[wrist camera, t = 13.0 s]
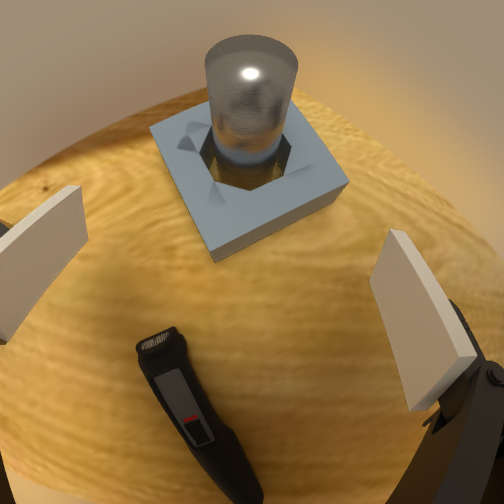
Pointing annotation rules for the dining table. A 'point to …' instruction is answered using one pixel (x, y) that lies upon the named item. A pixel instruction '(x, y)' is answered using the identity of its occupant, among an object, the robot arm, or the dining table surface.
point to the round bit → (248, 105)
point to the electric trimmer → (196, 416)
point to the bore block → (239, 200)
